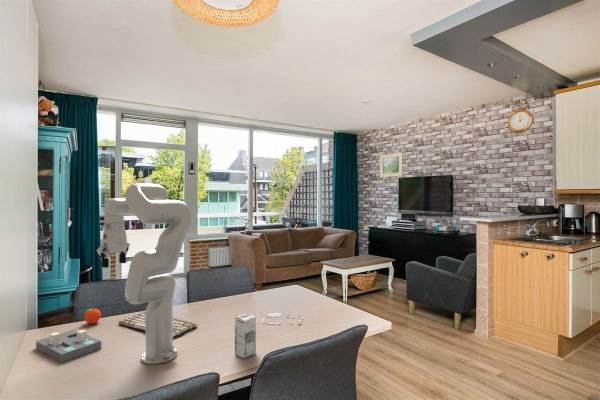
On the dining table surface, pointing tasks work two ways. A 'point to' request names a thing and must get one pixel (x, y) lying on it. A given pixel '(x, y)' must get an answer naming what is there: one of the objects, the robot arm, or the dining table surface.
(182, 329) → the mechanical keyboard
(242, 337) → the syrup box
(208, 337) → the dining table surface
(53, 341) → the tab
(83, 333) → the tab
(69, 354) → the switch panel
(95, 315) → the clementine
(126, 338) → the dining table surface
